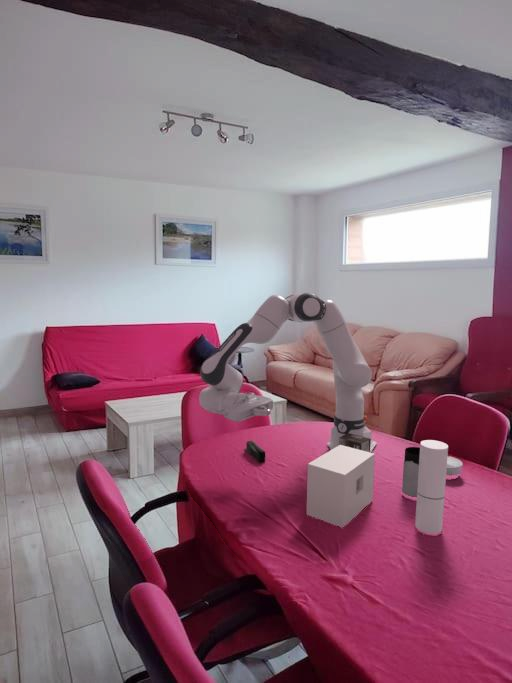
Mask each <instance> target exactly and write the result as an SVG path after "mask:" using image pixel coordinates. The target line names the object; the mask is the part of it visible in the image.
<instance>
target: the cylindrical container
mask: <svg viewBox="0 0 512 683" xmlns="http://www.w3.org/2000/svg"><path fill="white" fill-rule="evenodd" d="M419 448H420V457H419V473H418V489H417V501H416V508H415V521H414V522H415V523H414V527H415V526H416V527H417V528H418V529H419V530H420V531H423V532H425V533H430V534H436V533H439V532H441V531H442V532H443V524H444V523H443V521H444V509H445V507H444V506H445V495H446V485H447V484H446V483H447V480H446V470H447V456H448V455H449V454H448V453H449V445H448V444H447V443H445V442H443V441H439V440H435V439H426V440H425V439H424V440H421V441H420V444H419Z"/></svg>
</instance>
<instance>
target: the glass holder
mask: <svg viewBox="0 0 512 683" xmlns="http://www.w3.org/2000/svg"><path fill="white" fill-rule="evenodd" d="M419 457H420V446H419V447H418V446H408V447H406V448H405V449H404V461H403V468H402V486H401V490H402V492H403V493H404V494H406V495H408V496H411V497H417V489H418V473H419Z"/></svg>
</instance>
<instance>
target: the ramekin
mask: <svg viewBox="0 0 512 683" xmlns="http://www.w3.org/2000/svg"><path fill="white" fill-rule="evenodd" d="M463 464H464V463H463V461H461V460H460V459H458V458H456V457H453V456H447V470H446V475H449V476H450V475H451V476H452V475H457V474H459V473H460V474H462V473H461V472H462V468H463V466H464V465H463Z"/></svg>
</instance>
